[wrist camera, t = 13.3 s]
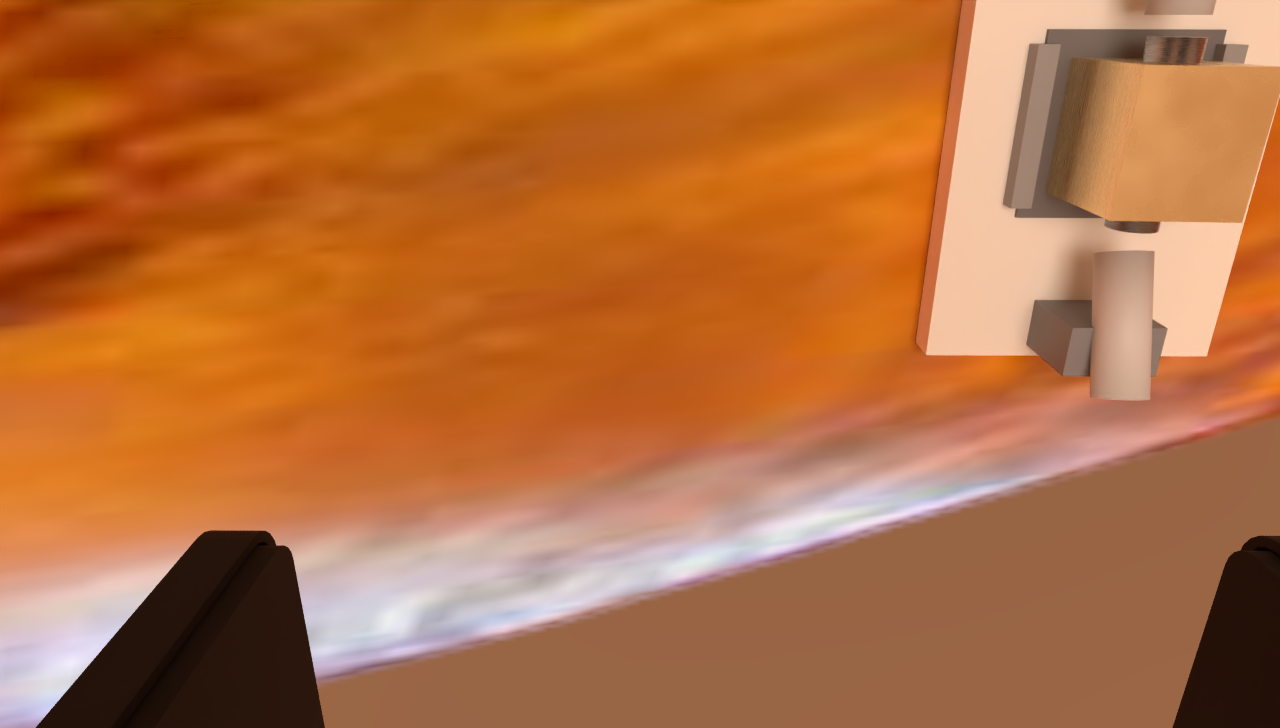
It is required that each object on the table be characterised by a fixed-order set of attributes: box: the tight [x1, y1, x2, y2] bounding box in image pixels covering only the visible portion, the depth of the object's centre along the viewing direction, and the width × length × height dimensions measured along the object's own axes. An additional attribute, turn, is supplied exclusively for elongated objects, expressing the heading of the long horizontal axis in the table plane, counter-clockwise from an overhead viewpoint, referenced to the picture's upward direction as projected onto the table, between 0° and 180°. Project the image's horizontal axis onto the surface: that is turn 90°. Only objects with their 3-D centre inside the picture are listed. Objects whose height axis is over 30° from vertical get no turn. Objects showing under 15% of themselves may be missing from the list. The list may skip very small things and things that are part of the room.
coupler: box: [1045, 36, 1280, 234], centre depth 30 cm, size 7×4×5 cm
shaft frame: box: [916, 0, 1280, 400], centre depth 31 cm, size 19×12×7 cm, turn 0°
